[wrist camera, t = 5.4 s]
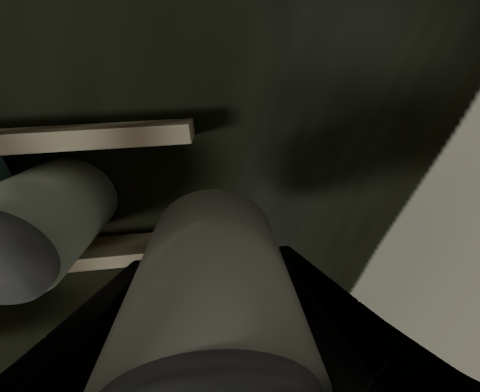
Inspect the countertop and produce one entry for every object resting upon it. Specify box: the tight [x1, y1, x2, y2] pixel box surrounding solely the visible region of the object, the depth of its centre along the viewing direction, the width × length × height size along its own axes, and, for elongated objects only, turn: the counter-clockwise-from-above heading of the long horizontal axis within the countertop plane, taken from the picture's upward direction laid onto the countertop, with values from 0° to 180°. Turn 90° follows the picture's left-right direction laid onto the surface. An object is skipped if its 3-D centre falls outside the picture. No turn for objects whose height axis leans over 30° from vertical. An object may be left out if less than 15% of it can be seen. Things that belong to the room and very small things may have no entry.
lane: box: [0, 118, 195, 273], centre depth 14 cm, size 19×9×3 cm, turn 92°
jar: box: [84, 189, 332, 392], centre depth 7 cm, size 5×5×7 cm
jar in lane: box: [0, 157, 118, 305], centre depth 12 cm, size 5×5×7 cm
